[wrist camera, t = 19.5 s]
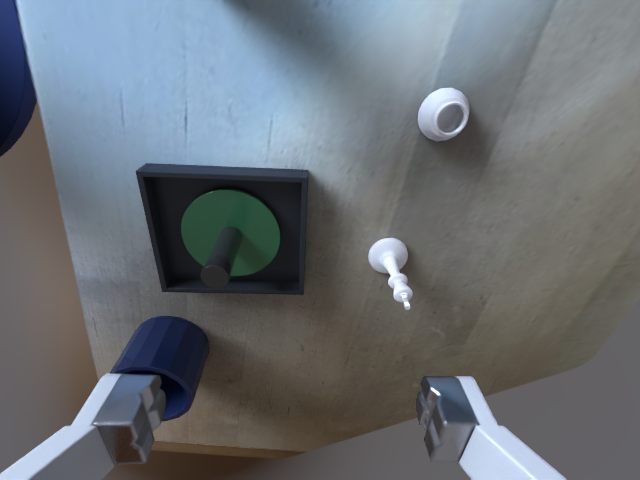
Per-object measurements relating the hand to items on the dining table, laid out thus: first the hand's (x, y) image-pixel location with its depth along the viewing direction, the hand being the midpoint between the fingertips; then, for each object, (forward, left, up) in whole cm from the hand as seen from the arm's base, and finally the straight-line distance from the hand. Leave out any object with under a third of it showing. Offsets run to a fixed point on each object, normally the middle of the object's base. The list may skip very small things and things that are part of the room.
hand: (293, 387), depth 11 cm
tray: (-8, -10, -29) cm, 32 cm away
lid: (-8, -10, -28) cm, 31 cm away
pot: (-18, -29, -29) cm, 45 cm away
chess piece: (+11, -13, -29) cm, 34 cm away
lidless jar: (+14, +4, -29) cm, 33 cm away
